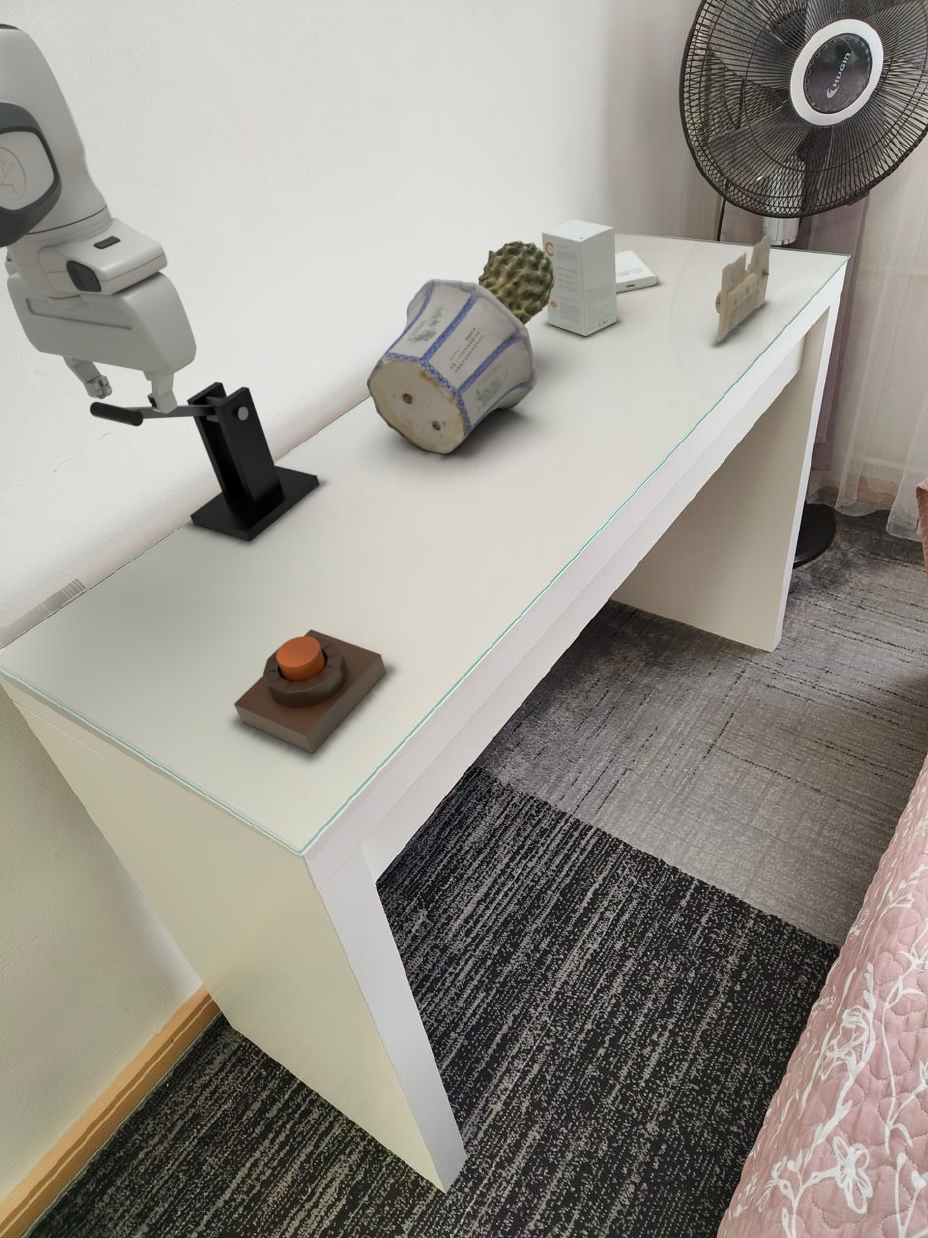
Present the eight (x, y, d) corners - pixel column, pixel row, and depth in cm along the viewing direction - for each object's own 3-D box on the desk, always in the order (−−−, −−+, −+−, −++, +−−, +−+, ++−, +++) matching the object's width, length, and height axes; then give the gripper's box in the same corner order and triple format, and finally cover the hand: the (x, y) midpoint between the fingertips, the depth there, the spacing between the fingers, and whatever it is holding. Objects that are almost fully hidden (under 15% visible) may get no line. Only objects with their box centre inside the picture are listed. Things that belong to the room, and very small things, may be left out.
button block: (312, 754, 67) (299, 720, 65) (241, 721, 71) (226, 688, 69) (386, 672, 73) (376, 638, 71) (316, 646, 77) (305, 613, 75)
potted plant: (457, 360, 85) (585, 190, 97) (326, 347, 94) (458, 194, 106) (505, 484, 98) (612, 321, 110) (385, 462, 107) (497, 314, 120)
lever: (130, 432, 78) (130, 405, 77) (90, 422, 80) (88, 396, 80) (253, 424, 90) (253, 401, 89) (214, 416, 93) (214, 393, 92)
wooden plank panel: (754, 301, 120) (760, 227, 113) (771, 303, 119) (778, 228, 112) (710, 344, 112) (714, 267, 105) (727, 347, 110) (733, 269, 104)
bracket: (249, 541, 92) (206, 427, 83) (193, 524, 96) (146, 414, 87) (319, 484, 99) (286, 373, 90) (264, 470, 103) (227, 363, 94)
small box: (618, 321, 121) (615, 226, 113) (585, 337, 119) (580, 241, 110) (579, 309, 126) (574, 217, 118) (547, 324, 124) (540, 231, 116)
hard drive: (633, 259, 139) (657, 284, 129) (584, 269, 139) (604, 295, 129) (633, 249, 138) (657, 274, 128) (584, 258, 138) (604, 284, 128)
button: (306, 687, 68) (300, 671, 67) (273, 674, 70) (267, 658, 69) (333, 658, 70) (328, 643, 69) (301, 646, 72) (296, 631, 71)
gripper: (-32, 259, 75) (40, 402, 84) (116, 274, 65) (180, 435, 74) (27, 234, 78) (91, 374, 87) (176, 246, 69) (230, 402, 78)
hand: (133, 402), depth 81 cm, fingers open, 8 cm apart
